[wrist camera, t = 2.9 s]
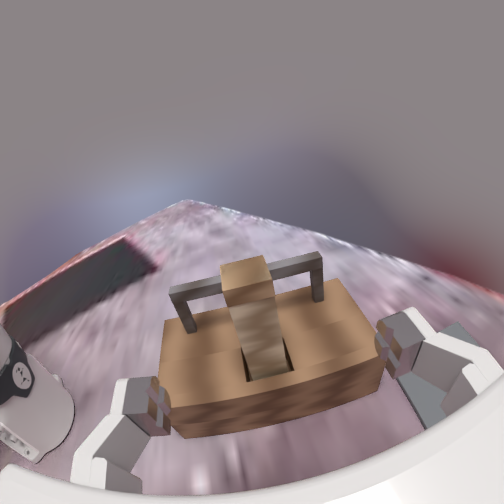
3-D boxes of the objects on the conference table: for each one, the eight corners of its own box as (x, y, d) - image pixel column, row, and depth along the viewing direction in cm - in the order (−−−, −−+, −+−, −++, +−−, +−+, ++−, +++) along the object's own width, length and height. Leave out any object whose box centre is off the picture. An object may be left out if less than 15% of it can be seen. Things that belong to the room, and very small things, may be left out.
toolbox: (184, 438, 27) (123, 372, 20) (184, 357, 39) (146, 282, 32) (377, 390, 28) (398, 304, 21) (337, 319, 40) (336, 236, 33)
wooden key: (258, 396, 27) (222, 291, 20) (253, 371, 30) (219, 265, 23) (291, 387, 27) (272, 279, 20) (283, 363, 30) (262, 254, 23)
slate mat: (432, 442, 19) (433, 440, 19) (384, 359, 31) (385, 357, 31) (506, 385, 20) (508, 383, 19) (456, 324, 32) (457, 321, 32)
